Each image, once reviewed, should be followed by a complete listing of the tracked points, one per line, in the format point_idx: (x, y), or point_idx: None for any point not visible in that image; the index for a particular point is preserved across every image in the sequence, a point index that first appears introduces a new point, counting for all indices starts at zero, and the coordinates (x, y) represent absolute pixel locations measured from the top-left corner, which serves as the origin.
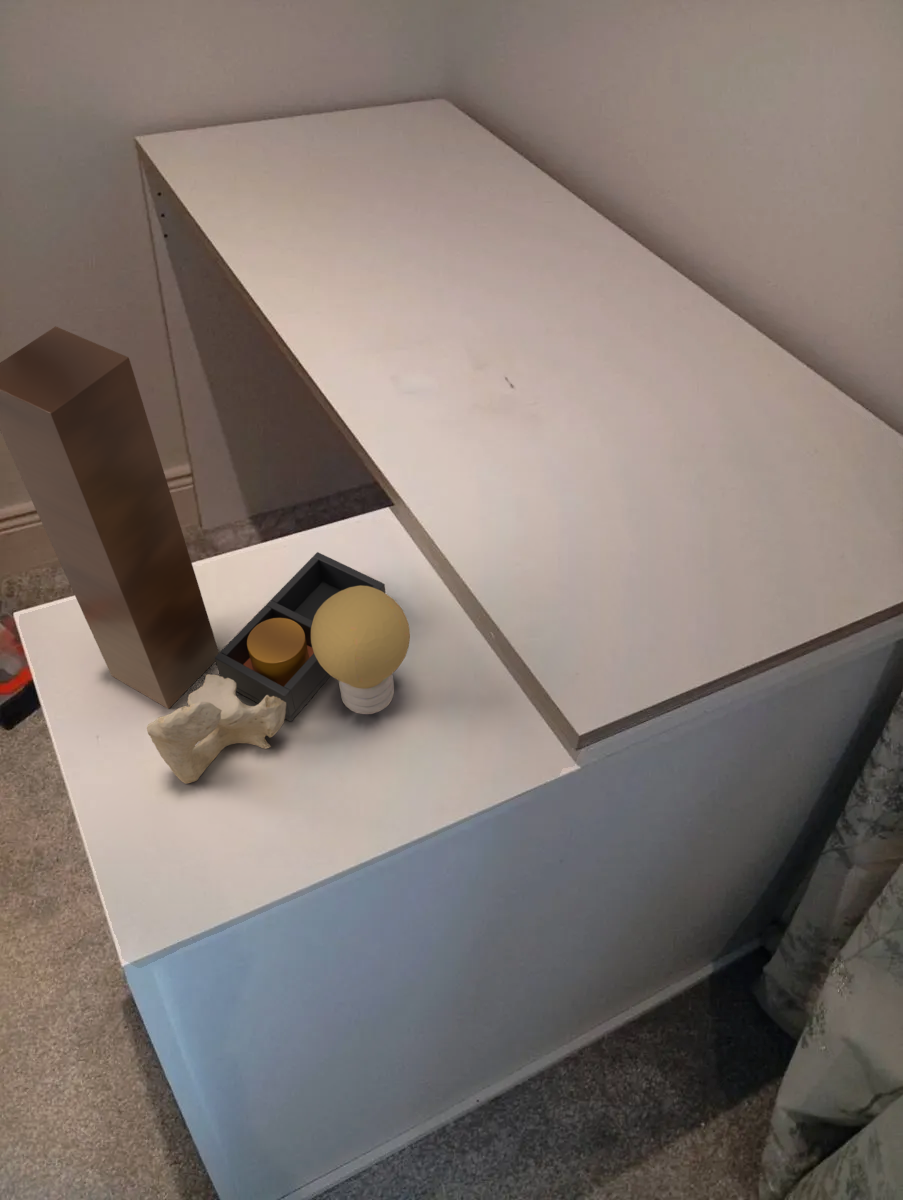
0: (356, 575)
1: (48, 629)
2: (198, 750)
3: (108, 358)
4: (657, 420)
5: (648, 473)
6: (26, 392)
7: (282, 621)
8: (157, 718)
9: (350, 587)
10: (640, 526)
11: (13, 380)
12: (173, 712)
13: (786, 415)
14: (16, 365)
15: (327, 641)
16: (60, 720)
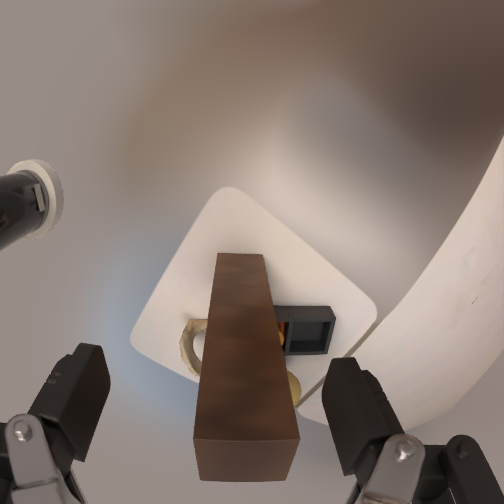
0: (327, 342)
1: (225, 195)
2: (200, 331)
3: (277, 476)
4: (455, 360)
5: (427, 374)
6: (206, 466)
7: (280, 337)
8: (184, 351)
9: (292, 394)
10: (398, 386)
11: (211, 456)
12: (187, 363)
13: (458, 388)
14: (229, 450)
15: None
16: (180, 248)
